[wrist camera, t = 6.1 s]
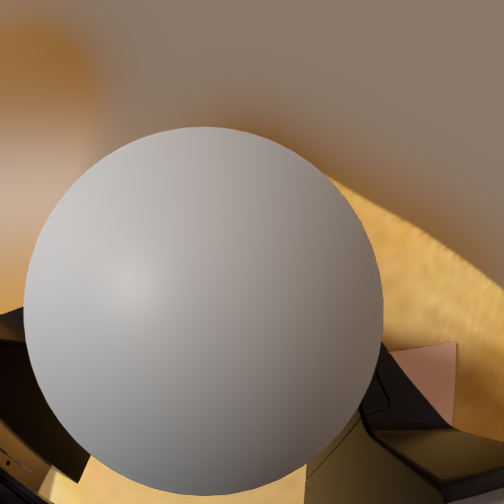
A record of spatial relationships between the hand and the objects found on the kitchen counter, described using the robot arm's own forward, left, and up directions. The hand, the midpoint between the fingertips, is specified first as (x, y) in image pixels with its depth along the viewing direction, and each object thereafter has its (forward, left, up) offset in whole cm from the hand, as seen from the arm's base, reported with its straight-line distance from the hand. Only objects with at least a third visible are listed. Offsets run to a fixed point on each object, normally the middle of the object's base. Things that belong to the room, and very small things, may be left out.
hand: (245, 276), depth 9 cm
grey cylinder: (-1, 0, -7) cm, 7 cm away
